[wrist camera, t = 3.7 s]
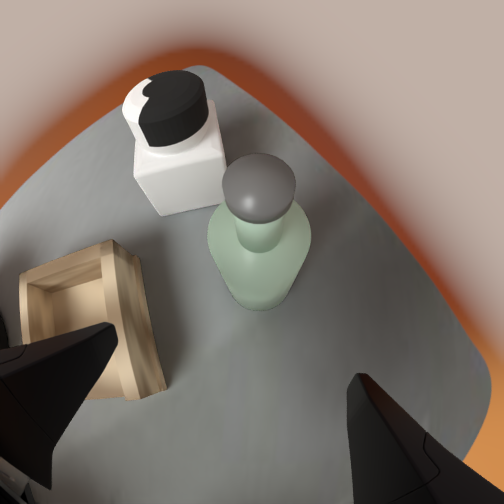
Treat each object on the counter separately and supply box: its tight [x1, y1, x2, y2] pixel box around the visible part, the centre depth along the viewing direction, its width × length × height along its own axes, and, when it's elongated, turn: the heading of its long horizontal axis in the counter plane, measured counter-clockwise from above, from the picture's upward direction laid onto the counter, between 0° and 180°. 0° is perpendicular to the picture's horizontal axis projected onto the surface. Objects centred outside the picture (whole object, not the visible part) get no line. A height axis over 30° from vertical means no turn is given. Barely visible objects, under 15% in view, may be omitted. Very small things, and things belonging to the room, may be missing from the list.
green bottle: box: [207, 153, 311, 311], centre depth 16 cm, size 5×5×14 cm
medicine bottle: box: [122, 70, 227, 216], centre depth 21 cm, size 7×7×12 cm
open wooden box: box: [19, 239, 167, 401], centre depth 19 cm, size 12×12×5 cm
